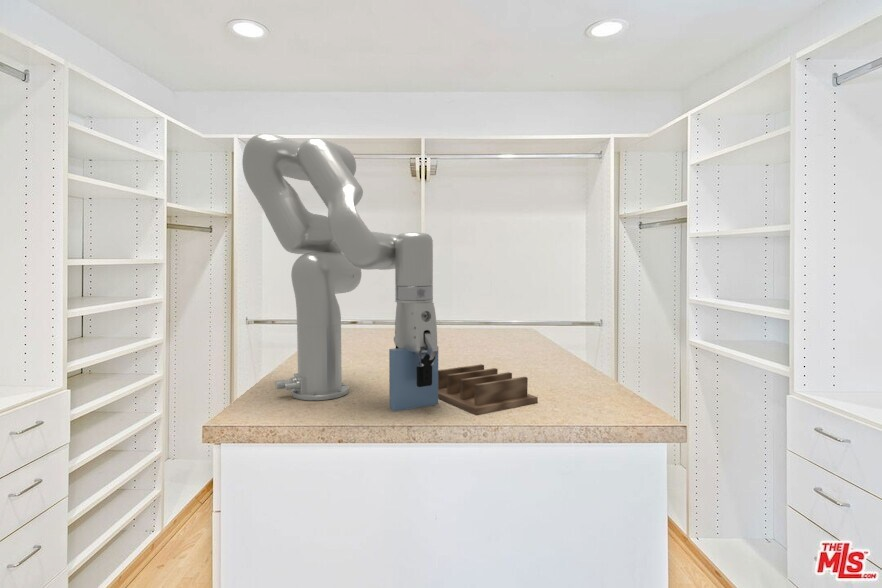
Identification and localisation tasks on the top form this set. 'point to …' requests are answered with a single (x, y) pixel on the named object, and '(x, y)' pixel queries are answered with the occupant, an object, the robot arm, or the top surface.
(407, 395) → the tile
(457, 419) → the top surface
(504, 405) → the rack
